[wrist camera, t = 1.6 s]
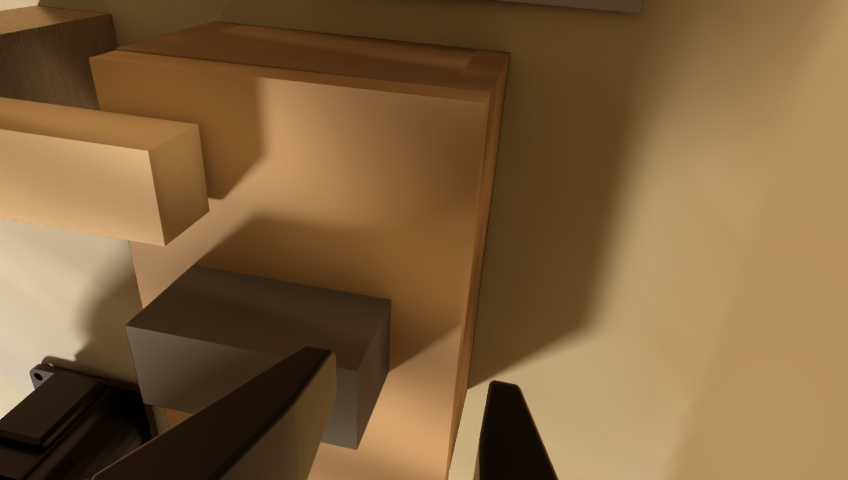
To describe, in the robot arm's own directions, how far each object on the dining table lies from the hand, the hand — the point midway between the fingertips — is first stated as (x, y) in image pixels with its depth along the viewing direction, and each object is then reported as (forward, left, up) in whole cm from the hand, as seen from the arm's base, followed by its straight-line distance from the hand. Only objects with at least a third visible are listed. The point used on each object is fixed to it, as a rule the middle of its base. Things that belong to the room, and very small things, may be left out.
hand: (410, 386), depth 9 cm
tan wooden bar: (0, +13, -6) cm, 15 cm away
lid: (-4, +5, -8) cm, 11 cm away
